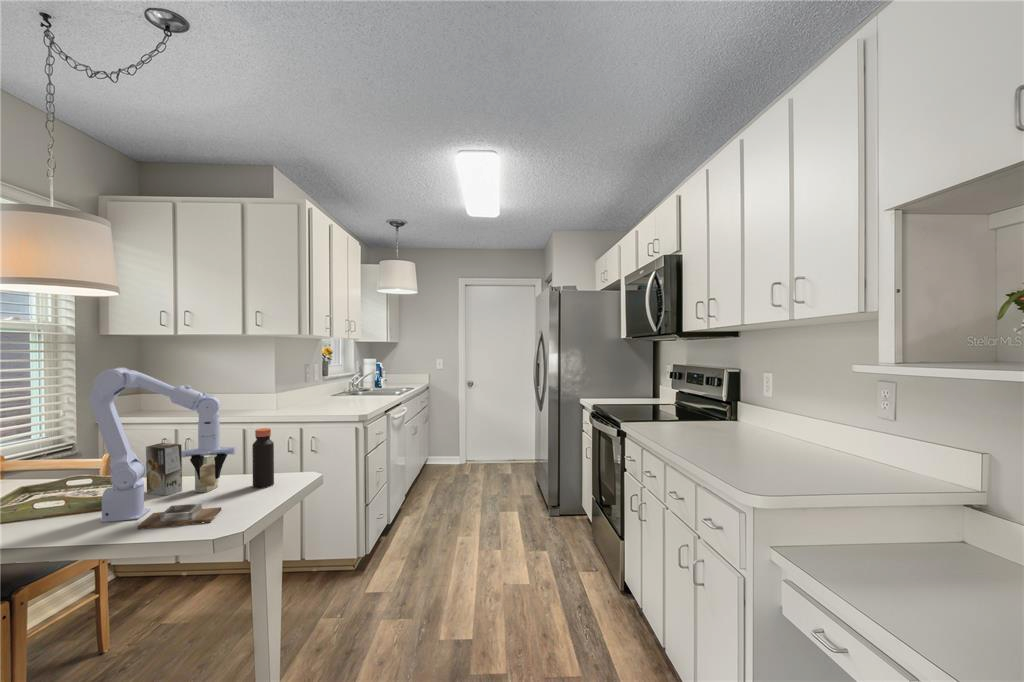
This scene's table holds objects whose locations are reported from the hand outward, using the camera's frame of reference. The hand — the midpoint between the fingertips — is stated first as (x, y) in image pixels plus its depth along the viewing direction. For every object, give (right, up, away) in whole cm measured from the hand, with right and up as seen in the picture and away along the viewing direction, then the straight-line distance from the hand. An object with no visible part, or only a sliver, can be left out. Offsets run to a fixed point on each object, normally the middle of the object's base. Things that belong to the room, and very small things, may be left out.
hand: (209, 478), depth 155 cm
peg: (0, -2, 0) cm, 2 cm away
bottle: (+6, -9, +22) cm, 24 cm away
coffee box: (-24, -9, +14) cm, 29 cm away
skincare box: (-11, -9, +17) cm, 22 cm away
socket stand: (-2, -9, -11) cm, 14 cm away
